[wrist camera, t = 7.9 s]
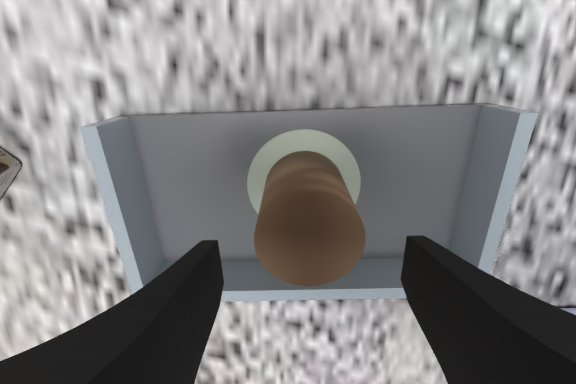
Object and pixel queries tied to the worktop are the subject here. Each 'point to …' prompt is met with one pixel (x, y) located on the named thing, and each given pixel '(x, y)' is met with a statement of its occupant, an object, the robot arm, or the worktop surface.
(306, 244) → the brown cylinder
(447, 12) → the worktop surface
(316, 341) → the worktop surface
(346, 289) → the grey tray
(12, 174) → the coffee box
